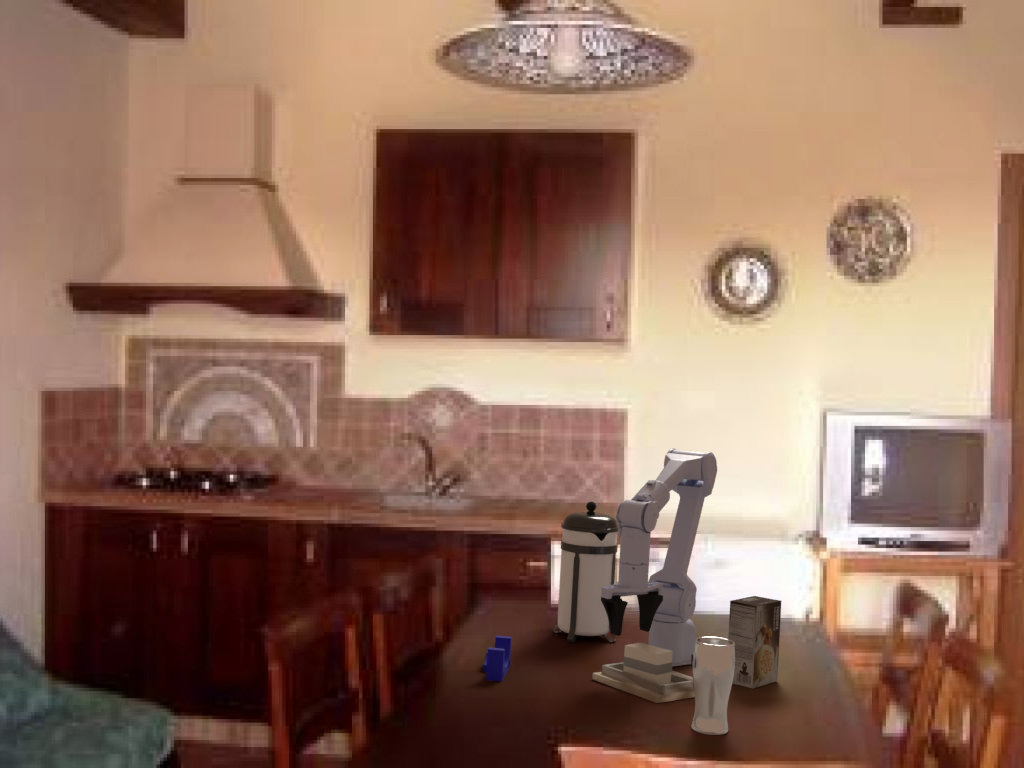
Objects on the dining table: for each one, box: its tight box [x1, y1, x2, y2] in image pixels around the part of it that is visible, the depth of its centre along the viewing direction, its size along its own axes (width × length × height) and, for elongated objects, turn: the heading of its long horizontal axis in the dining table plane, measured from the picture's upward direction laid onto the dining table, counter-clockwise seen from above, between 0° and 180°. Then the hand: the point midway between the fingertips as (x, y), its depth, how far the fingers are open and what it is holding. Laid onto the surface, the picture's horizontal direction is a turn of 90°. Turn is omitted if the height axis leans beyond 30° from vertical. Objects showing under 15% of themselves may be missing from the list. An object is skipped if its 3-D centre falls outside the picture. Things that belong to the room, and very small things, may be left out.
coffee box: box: [727, 595, 783, 690], centre depth 242 cm, size 9×6×16 cm
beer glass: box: [691, 636, 735, 736], centre depth 209 cm, size 7×7×15 cm
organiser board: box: [591, 654, 695, 704], centre depth 235 cm, size 16×18×7 cm
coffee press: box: [552, 501, 619, 644], centre depth 275 cm, size 17×16×30 cm
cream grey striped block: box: [623, 642, 673, 685], centre depth 234 cm, size 4×8×6 cm, turn 44°
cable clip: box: [482, 635, 513, 682], centre depth 239 cm, size 12×4×6 cm, turn 173°
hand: (630, 632), depth 241 cm, fingers open, 7 cm apart
